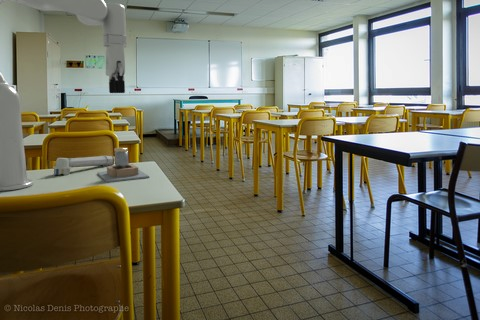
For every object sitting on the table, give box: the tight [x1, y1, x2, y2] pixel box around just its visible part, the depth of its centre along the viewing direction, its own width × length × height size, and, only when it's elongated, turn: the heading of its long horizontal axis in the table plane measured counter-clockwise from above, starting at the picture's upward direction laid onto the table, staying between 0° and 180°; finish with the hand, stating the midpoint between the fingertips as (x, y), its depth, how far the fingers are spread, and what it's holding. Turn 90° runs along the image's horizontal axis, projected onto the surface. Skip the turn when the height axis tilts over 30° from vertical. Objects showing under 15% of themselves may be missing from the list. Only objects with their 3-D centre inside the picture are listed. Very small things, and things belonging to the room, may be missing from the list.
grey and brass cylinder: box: [113, 147, 130, 169], centre depth 137 cm, size 4×4×9 cm
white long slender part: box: [52, 155, 115, 176], centre depth 149 cm, size 5×7×25 cm
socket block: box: [96, 163, 150, 183], centre depth 138 cm, size 14×16×3 cm
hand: (116, 93), depth 138 cm, fingers open, 9 cm apart
